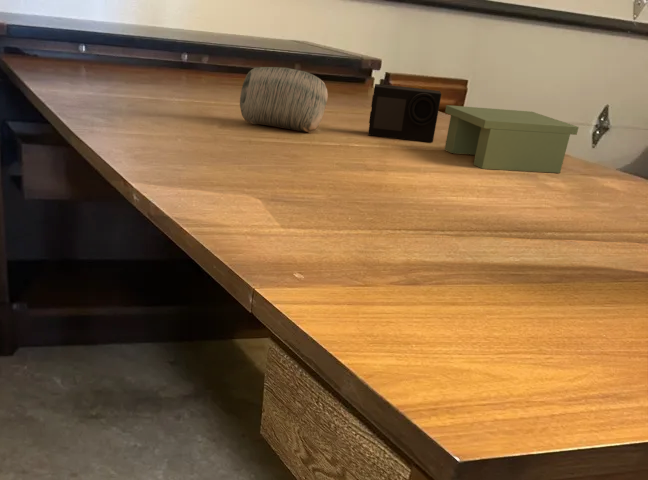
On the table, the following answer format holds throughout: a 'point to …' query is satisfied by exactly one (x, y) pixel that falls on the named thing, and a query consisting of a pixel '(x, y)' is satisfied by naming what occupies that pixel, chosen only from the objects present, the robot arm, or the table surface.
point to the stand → (508, 138)
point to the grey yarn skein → (283, 98)
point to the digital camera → (404, 112)
